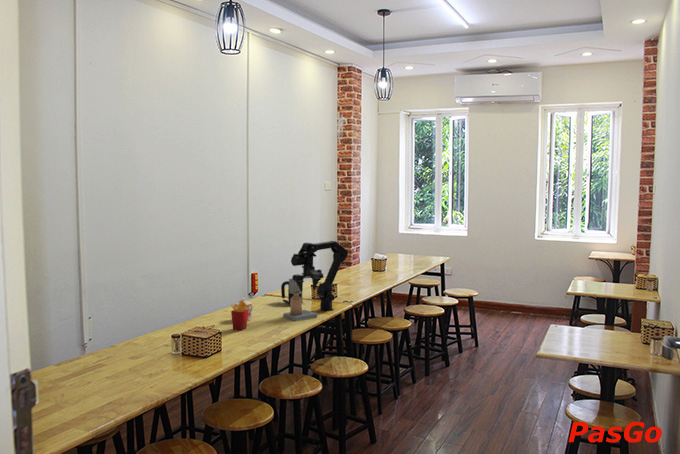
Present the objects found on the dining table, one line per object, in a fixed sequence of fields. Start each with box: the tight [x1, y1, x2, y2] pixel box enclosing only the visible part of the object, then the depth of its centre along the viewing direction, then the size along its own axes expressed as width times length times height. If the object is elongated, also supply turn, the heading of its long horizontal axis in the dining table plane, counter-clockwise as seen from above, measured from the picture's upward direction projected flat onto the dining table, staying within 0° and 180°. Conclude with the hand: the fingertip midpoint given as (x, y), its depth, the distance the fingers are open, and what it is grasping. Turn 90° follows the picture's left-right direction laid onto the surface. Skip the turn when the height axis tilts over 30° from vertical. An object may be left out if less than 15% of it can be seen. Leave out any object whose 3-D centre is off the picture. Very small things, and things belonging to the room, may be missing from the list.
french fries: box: [230, 301, 250, 332], centre depth 282 cm, size 9×8×15 cm
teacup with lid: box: [235, 297, 253, 322], centre depth 303 cm, size 12×9×12 cm
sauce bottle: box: [289, 291, 303, 316], centre depth 307 cm, size 6×6×13 cm
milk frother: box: [280, 278, 304, 306], centre depth 343 cm, size 14×16×15 cm
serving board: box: [282, 309, 318, 322], centre depth 310 cm, size 15×12×2 cm
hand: (307, 291), depth 318 cm, fingers open, 9 cm apart
